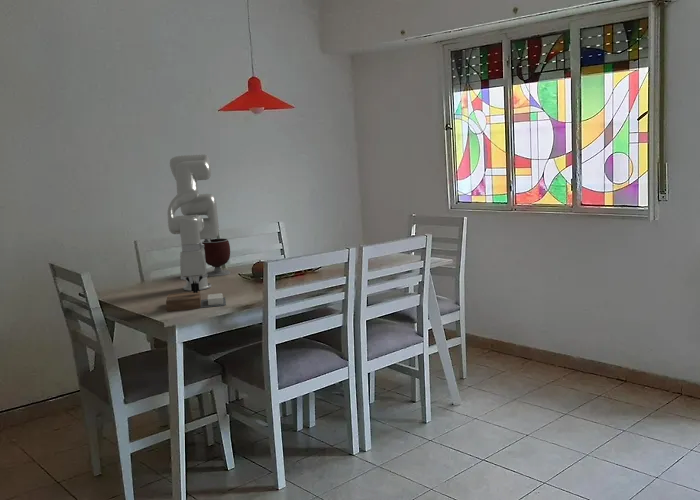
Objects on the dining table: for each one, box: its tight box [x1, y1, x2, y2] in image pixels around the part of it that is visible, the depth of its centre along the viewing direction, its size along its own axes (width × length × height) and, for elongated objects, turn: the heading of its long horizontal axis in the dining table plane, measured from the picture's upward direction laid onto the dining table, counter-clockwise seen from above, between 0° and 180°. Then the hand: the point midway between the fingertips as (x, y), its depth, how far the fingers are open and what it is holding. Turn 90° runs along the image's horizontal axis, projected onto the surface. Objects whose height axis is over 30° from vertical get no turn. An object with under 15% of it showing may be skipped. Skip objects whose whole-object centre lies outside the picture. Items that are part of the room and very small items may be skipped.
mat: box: [200, 297, 227, 309], centre depth 280 cm, size 14×10×1 cm
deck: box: [165, 290, 202, 312], centre depth 277 cm, size 14×13×4 cm
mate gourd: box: [201, 237, 231, 277], centre depth 343 cm, size 16×14×20 cm
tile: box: [207, 293, 224, 305], centre depth 280 cm, size 9×6×2 cm, turn 12°
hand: (195, 292), depth 278 cm, fingers closed
